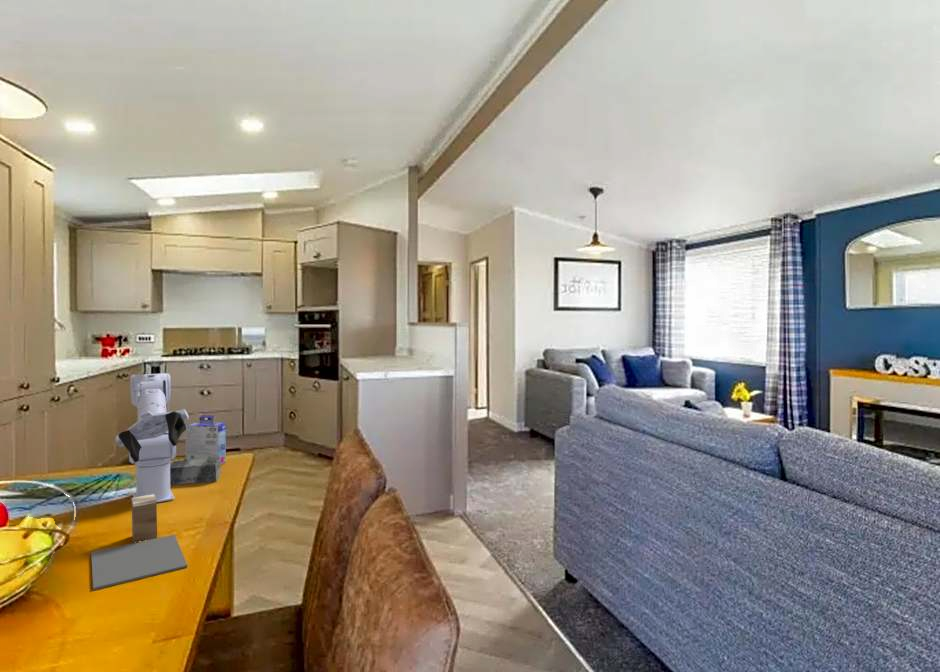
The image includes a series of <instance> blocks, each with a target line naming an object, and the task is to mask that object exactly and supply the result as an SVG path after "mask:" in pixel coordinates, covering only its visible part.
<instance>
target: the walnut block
mask: <svg viewBox="0 0 940 672" xmlns="http://www.w3.org/2000/svg"><path fill="white" fill-rule="evenodd" d="M157 507H158V506H157V503H156V498H155V495H154V494H152V495H146V496H140V497H131V528H132V529H131V530H132V531H131V533H132V534H131V535H132V541H133V540H134V541H133V543H135V542H139V541H145V540H150V539H155V538H158V526H157V525H158V513H157Z"/></svg>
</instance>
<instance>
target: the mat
mask: <svg viewBox="0 0 940 672" xmlns="http://www.w3.org/2000/svg"><path fill="white" fill-rule="evenodd" d="M90 554H91V572H92V573H91V575H92V588H93V589H92V591H96V590H101V589H104V588H108V587H112V586H118V585H120V584H125V583H128V582H133V581H137V580H142V579H145V578H149V577H153V576H157V575H161V574H164V573H165V574H166V573H168V572H169V573H170V572H174V571H177V570H178V571H179V570H182V569H185V568H188V563H187V561H186V558H185V556H184V553H183V552H182V549H181V547H180V544H179V541H178V540H177V537H176V535H175V534H169V535H166V536H161V537H157V538H155V539H150V540H146V541H141V542H136V543H134V542H132V543H127V544H123V545H119V546H113V547H109V548H104V549H99V550H95V551H91V553H90Z"/></svg>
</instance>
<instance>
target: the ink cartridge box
mask: <svg viewBox="0 0 940 672" xmlns="http://www.w3.org/2000/svg"><path fill="white" fill-rule="evenodd" d="M214 417H215V415H209V414H208V415H207V414H205V415H201V418H200V422H192V423H190V424H188V425H186V430H185V459H187V460H194V459H205V458H215V457H220V462H221V465H223V464H225V463H226V462H227V455H226V453H227V451H226V449H227V444H226V443H227V441H226V439H227V436H226V435H227V432H226V431H227V429H226V428H227V426H226V425H227V423H226V422H214V419H215V418H214ZM207 418H209V419H207Z"/></svg>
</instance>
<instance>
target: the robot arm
mask: <svg viewBox="0 0 940 672" xmlns="http://www.w3.org/2000/svg"><path fill="white" fill-rule="evenodd" d="M171 379H172V378H171V375H170V373H169V372H165V373H144V374H131V375H130V379H129V381H130V382H129V383H130V384H129V385H130V386H129V387H130V402H131V403H132V404H131V405H132V406H135V407H136V408H137V421H136V422H135V423H133V424H132V425H131V426H129V427H128V428H127V429H125V430H124V431H122V432H120V433H119V434H117V435H116V436H115V442H116V444H117V446H118V447H119V448H123V447H125V449H127V451H128V459H129V463H131V464H132V465H133V464H134V465H135V479H136V480H135V482H136V484H135V485H136V492H133V493H132V496H133V497H132V498H134V497H140V496H146V495H152V494H154V495H155V498H156V504H157V503H162V502H166V501H167V502H168V501H172V500H175V495H174V494H173V492H172V490H171V485H170V463H171V461H172V460H174V459H175V458H176V456H177V445H178V442H179V439H180V437H181V435H182V434H183V433H184V432H186V426H187V425H186V423H185V422H187V421H189V420H190V418H189V414H188V412H187V410H186V409H185V408H183V409H179V410H176V411H169V412H168V409H167V404H169V403H170V400H171V393H172V391H171V389H172V385H171V384H172V383H171Z"/></svg>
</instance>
